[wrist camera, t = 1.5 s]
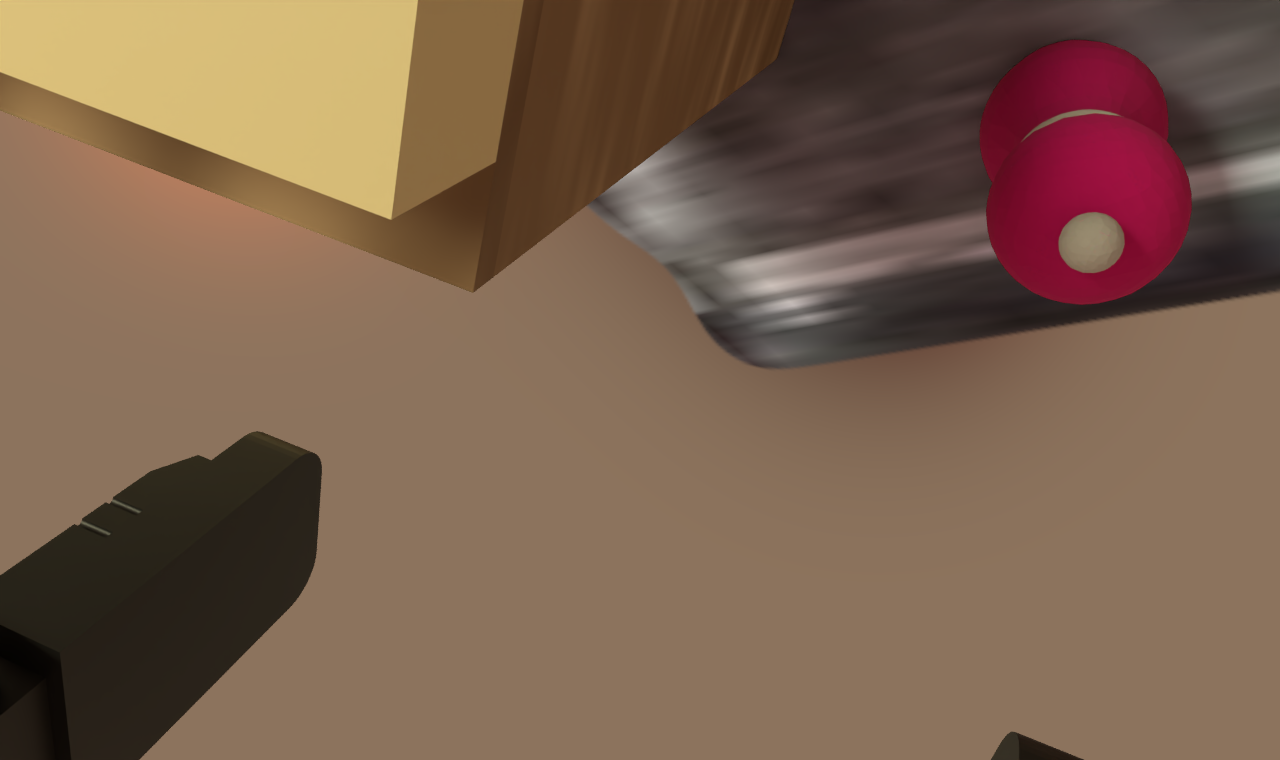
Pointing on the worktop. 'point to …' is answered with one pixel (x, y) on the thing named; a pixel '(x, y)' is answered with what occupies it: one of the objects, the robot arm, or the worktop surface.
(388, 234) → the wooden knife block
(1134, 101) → the pepper mill
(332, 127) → the film box
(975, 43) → the worktop surface
